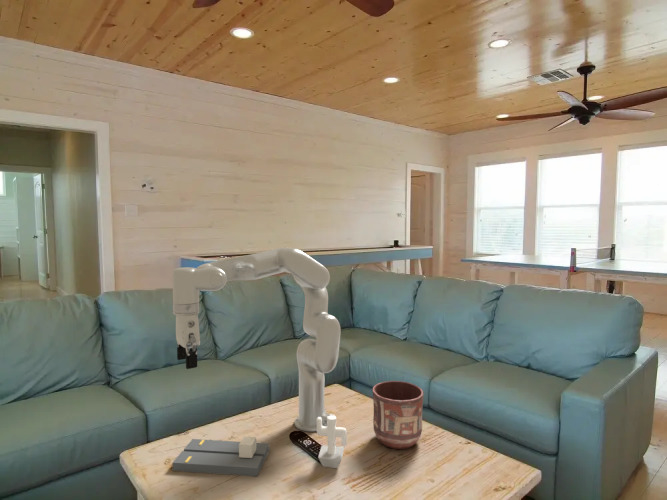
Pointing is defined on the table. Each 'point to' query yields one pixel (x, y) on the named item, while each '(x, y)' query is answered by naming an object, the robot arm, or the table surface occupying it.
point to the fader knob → (247, 447)
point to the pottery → (397, 413)
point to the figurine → (331, 442)
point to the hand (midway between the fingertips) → (187, 363)
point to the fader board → (219, 458)
